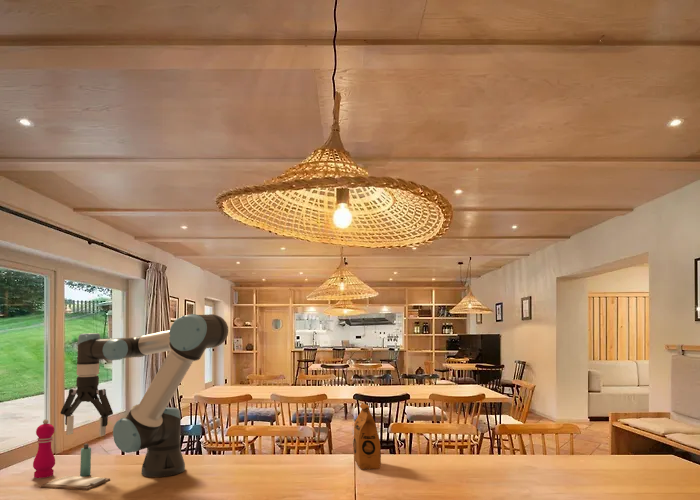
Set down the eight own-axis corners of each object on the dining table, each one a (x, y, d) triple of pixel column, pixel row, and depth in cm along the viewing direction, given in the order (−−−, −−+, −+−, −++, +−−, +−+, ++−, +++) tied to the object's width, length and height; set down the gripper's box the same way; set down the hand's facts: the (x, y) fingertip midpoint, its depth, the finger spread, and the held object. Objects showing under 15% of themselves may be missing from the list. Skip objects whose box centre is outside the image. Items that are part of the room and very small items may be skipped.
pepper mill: (45, 479, 210) (47, 421, 212) (27, 478, 212) (29, 421, 214) (59, 473, 217) (61, 417, 219) (42, 473, 219) (43, 417, 221)
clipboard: (110, 480, 207) (111, 476, 207) (88, 490, 195) (88, 486, 195) (65, 477, 211) (65, 474, 211) (40, 487, 200) (40, 483, 200)
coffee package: (355, 470, 213) (354, 408, 215) (352, 462, 225) (351, 403, 227) (383, 469, 214) (381, 407, 216) (378, 461, 226) (377, 402, 228)
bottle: (92, 474, 215) (93, 443, 216) (86, 477, 212) (87, 445, 213) (84, 474, 216) (85, 443, 217) (78, 476, 213) (78, 445, 214)
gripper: (124, 374, 219) (122, 434, 216) (65, 374, 224) (63, 431, 222) (111, 377, 211) (109, 438, 209) (51, 376, 217) (49, 435, 215)
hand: (85, 435), depth 216 cm, fingers open, 13 cm apart
